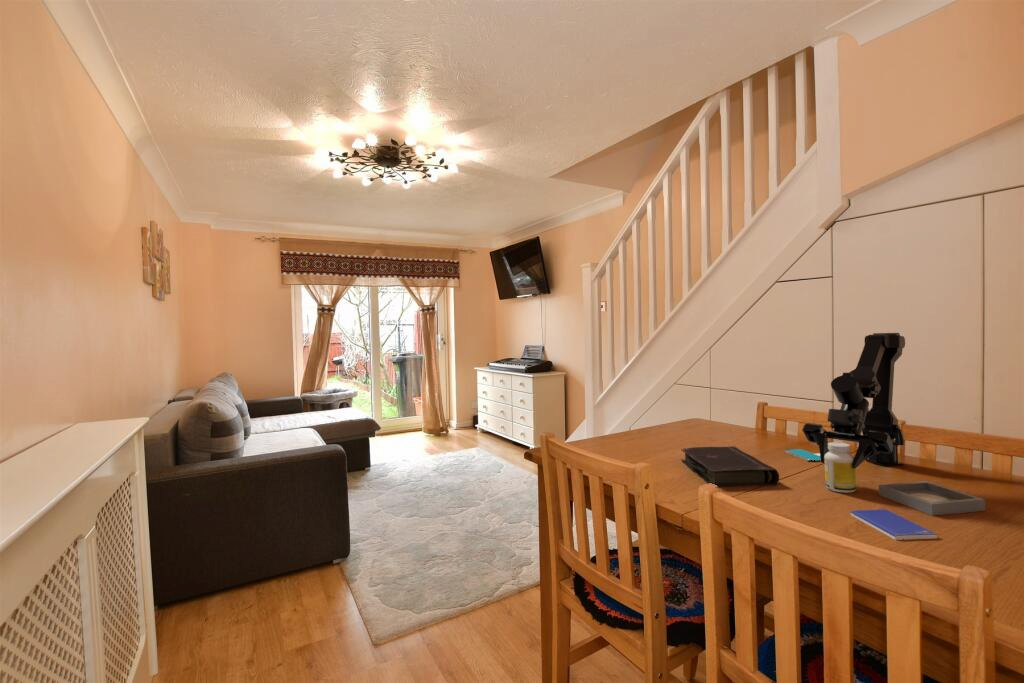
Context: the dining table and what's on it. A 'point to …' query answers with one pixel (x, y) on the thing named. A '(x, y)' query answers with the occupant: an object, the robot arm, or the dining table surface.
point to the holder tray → (932, 498)
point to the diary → (729, 467)
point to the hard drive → (893, 524)
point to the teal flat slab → (803, 454)
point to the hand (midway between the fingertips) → (837, 464)
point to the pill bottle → (839, 468)
